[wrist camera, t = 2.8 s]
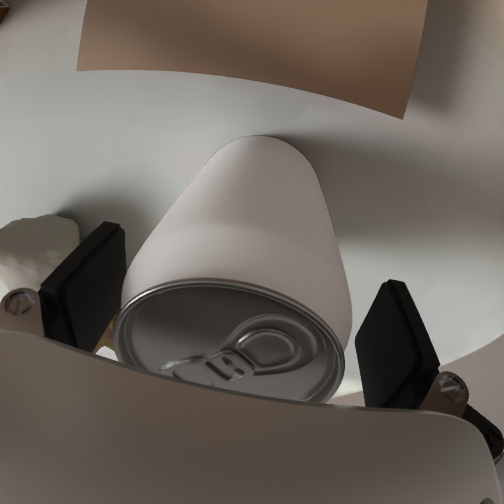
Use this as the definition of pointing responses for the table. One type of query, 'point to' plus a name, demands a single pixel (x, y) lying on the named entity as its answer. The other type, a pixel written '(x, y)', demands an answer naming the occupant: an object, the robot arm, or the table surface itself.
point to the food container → (3, 9)
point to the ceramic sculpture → (40, 255)
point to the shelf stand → (266, 43)
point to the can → (242, 281)
